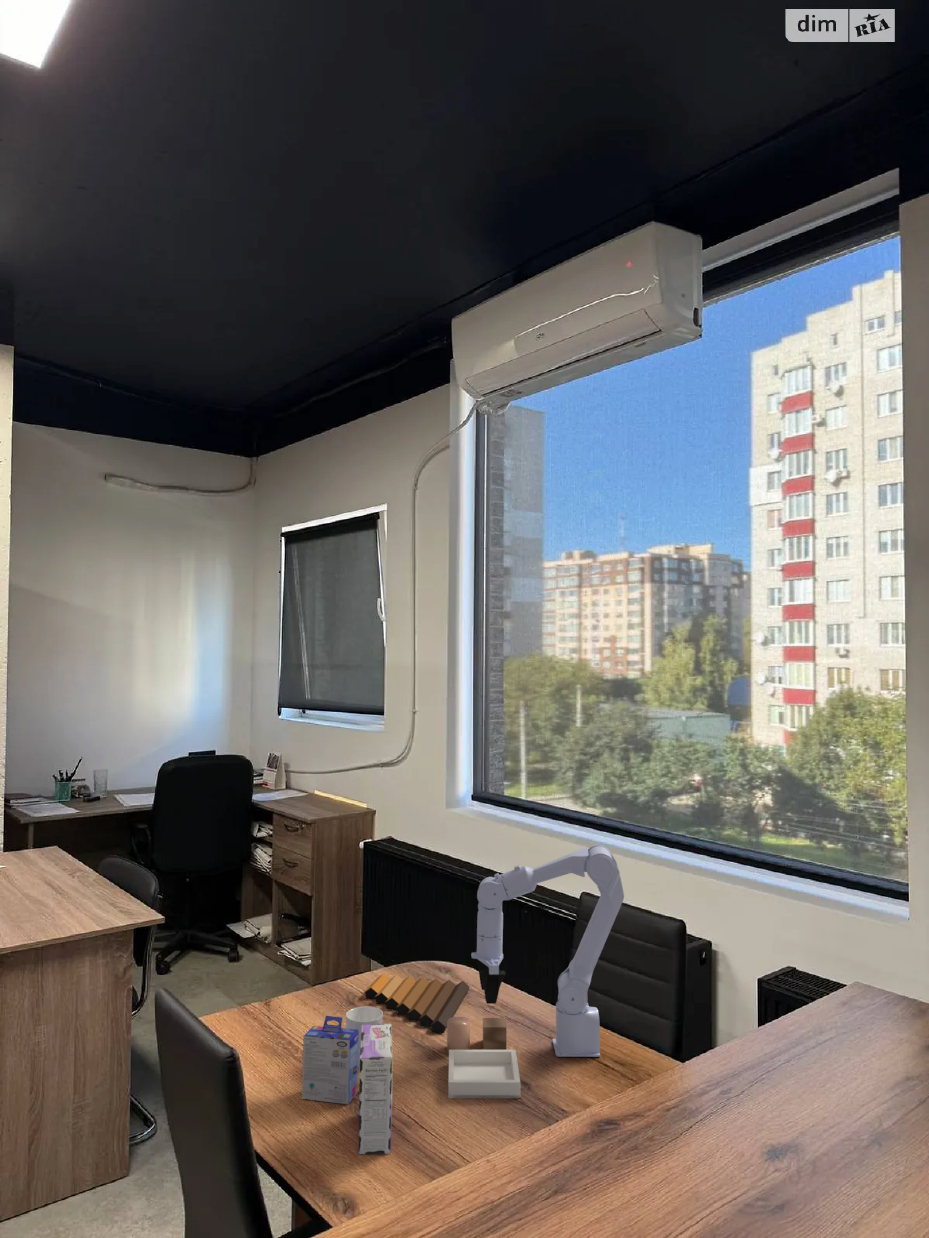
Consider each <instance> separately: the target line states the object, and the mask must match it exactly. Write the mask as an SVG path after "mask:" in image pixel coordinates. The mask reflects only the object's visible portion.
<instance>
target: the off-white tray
mask: <svg viewBox="0 0 929 1238" xmlns="http://www.w3.org/2000/svg"><path fill="white" fill-rule="evenodd" d="M447 1083H448V1089H447V1090H448V1099H521V1076H520V1070H519V1063H518V1058H517V1051H516V1049H506V1050H484V1049H470V1050H449V1052H448V1082H447Z"/></svg>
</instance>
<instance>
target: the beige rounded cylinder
mask: <svg viewBox="0 0 929 1238" xmlns="http://www.w3.org/2000/svg"><path fill="white" fill-rule="evenodd" d="M470 1047H471V1020H470V1019H469V1018H467V1017H466V1016H465V1017H464V1016H454V1017H452V1018H450V1019H448V1020H447V1028H446V1051H447V1052H448V1053H449V1050H471V1049H470Z"/></svg>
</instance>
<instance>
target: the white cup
mask: <svg viewBox="0 0 929 1238" xmlns="http://www.w3.org/2000/svg"><path fill="white" fill-rule="evenodd" d="M383 1022H384V1012H383V1010H382V1009H380V1008H378V1007H374V1006H357V1007H354V1008H352V1009H350V1010H348V1011H346V1013H345V1028H350V1029H358V1070H359V1065H360V1042H361V1029H362V1025H375V1024H384V1023H383Z"/></svg>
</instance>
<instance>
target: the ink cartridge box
mask: <svg viewBox="0 0 929 1238" xmlns="http://www.w3.org/2000/svg"><path fill="white" fill-rule="evenodd" d="M331 1021H334V1022H337V1025H336V1024H328V1022H331ZM342 1025H343V1017H341V1016H333V1015H325V1019H324V1022H323V1025H321V1026H320V1025H313V1026H312V1027H311V1028H309V1030H308V1031H307V1032H306V1033H305V1034H304V1035H303V1036H302V1037H303V1040H302V1041H303V1042H302V1043H303V1044H302V1045H303V1046H302V1047H303V1048H302V1051H303V1052H302V1084H301V1085H302V1087H301V1088H302V1089H301V1099H302V1098H303V1099H302V1100H305V1099H310V1100H309V1101H315V1100H316V1101H315V1102H324V1103H333V1104H343V1105H349V1104H350V1102H352V1100H353V1099H354V1098H355V1097H356V1095H357V1094H358V1093H359V1091H358V1090H359V1089H358V1088H359V1084H358V1083H359V1080H358V1079H359V1074H358V1073H359V1069H358V1029H350V1028H346V1027H342Z"/></svg>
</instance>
